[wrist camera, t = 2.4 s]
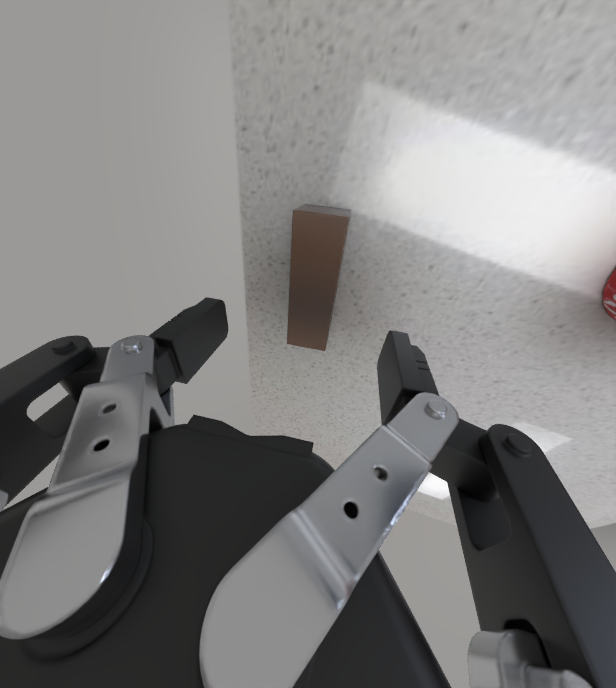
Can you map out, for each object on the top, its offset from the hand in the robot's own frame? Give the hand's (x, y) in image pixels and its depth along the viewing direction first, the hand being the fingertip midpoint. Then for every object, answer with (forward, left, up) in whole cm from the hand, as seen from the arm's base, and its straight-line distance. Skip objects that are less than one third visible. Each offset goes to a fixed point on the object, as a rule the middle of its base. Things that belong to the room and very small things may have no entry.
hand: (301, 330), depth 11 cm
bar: (0, 0, -8) cm, 8 cm away
